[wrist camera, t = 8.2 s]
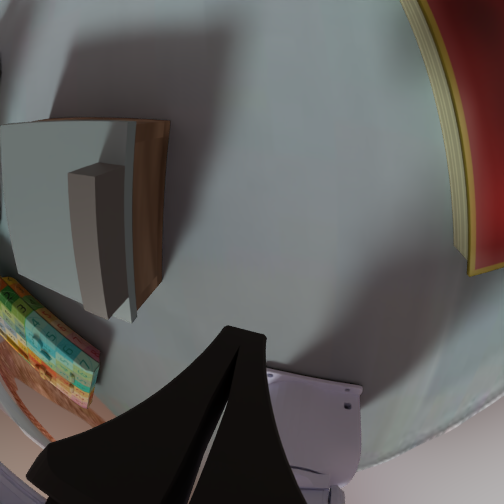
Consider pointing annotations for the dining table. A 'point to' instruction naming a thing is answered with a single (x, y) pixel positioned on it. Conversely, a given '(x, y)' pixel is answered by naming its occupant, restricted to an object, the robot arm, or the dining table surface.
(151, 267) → the box
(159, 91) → the dining table surface
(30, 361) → the puzzle game
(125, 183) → the lid
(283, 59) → the dining table surface
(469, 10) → the hardcover book
